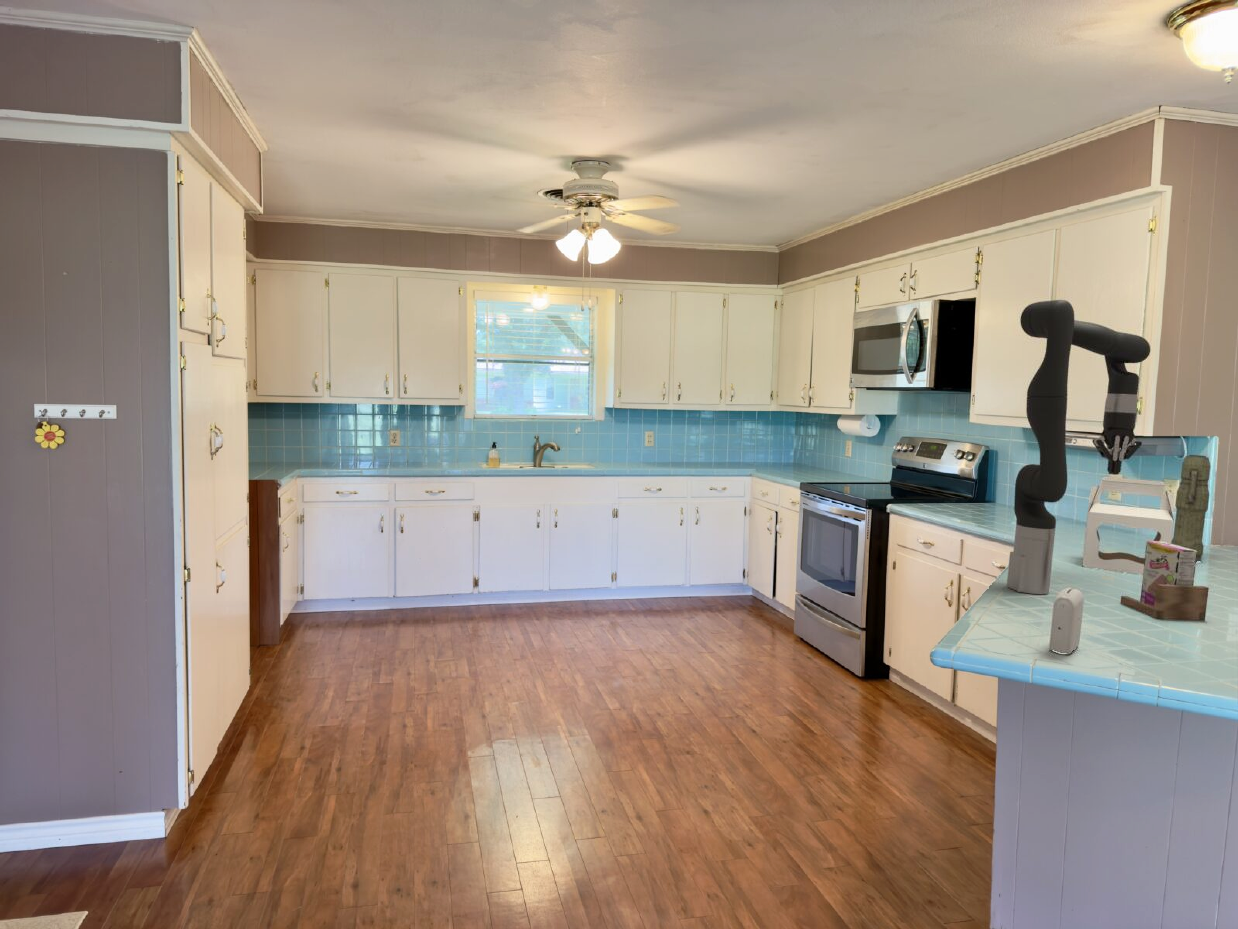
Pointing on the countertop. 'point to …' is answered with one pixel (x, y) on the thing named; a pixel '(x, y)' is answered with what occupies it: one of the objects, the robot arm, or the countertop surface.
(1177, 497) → the moai statue
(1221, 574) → the countertop surface
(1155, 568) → the candy bar box
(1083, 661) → the countertop surface
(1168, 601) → the walnut rack
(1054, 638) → the photo printer
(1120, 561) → the gable box
